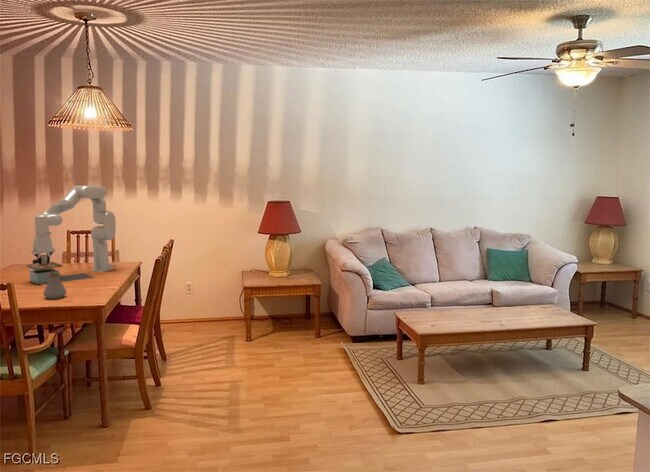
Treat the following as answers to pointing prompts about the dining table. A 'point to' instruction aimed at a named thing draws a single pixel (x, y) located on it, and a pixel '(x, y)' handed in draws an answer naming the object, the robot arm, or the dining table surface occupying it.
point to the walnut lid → (43, 264)
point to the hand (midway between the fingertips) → (43, 263)
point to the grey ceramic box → (41, 276)
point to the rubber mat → (75, 277)
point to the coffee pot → (54, 286)
